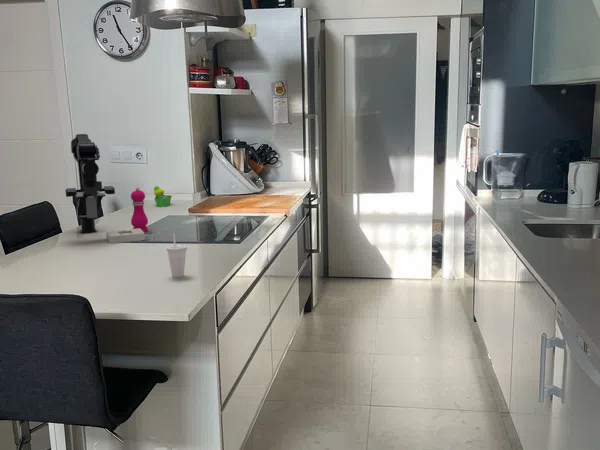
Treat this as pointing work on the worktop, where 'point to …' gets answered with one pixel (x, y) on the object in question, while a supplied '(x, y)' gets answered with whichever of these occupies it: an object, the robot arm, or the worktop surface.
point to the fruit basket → (161, 197)
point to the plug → (91, 207)
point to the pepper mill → (139, 210)
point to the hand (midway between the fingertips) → (91, 212)
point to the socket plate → (125, 235)
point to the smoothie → (177, 259)
